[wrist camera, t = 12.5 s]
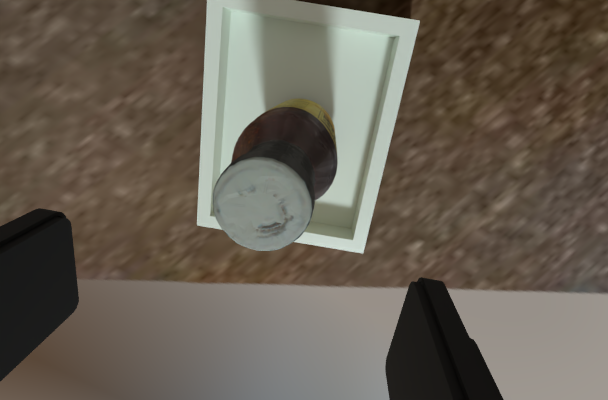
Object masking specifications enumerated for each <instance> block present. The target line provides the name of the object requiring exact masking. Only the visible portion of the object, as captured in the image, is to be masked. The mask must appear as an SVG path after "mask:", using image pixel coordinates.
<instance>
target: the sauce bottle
mask: <svg viewBox="0 0 608 400" xmlns="http://www.w3.org/2000/svg"><path fill="white" fill-rule="evenodd" d="M337 164H338V160H337V147H336V137H335V128H334V124H333V122H332V119H331V117H330V116H329V114H328V113H327V112H326V110H325V109H324V108H323V107H321V106H320V105H319V104H317V103H315V102H313V101H310V100H307V99H300V98H298V99H290V100H287V101H285V102H283V103H281V104H279V105H277V106H275V107H273V108H271V109H270V110H268V111H266V112H264V113H263V114H261V115H260V116H258V117H257V118H256V119H255V120H254V121H253V122H251V123H250V124H249V125H248V126H247V127H246V128H245V129H244V130H243V132H242V133H241V135H240V137H239V138H238V140H237V142H236V144H235V147H234V151H233V155H232V161H231V164H230V165H229V166H228V167H227V168H226V169H225V170H224V171H223V172H222V174H221V175H220V177H219V179H218V180H217V182H216V185H215V188H214V192H213V211H214V214H215V217H216V220H217V222H218V224H219V225H220V227H221V229H222V230H224V231H225V232H226V234H227V235H228V236H229V237H230V238H231V239H233V240H234V241H235V242H236V243H238V244H240V245H242V246H244V247H246V248H250V249H254V250H257V251H272V250H278V249H281V248H283V247H285V246H287V245H289V244H291V243H292V242H294V241H295V240H297V239H298V238H299V237H300V236H301V235H302V234H303V233H304V231H305V230H306V228H307V226H308V225H309V223H310V220H311V217H312V213H313V210H314V205H315V200H317V199H319V198H320V197H321V196H323V195H324V194H325V193H326V192H327V190H328V189H329V188H330V186H331V185H332V183H333V181H334V178H335V176H336V171H337Z"/></svg>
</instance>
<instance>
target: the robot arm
mask: <svg viewBox="0 0 608 400" xmlns="http://www.w3.org/2000/svg"><path fill="white" fill-rule="evenodd" d="M78 302H79V297H78V287H77V277H76V267H75V258H74V248H73V238H72V228H71V222H70V221H69V220H68V219H66V216H65V215H64V214H63V213H62V212H57V211H52V210H46V209H35V210H33V211H31V212H29V213H27V214H25V215H23V216H21V217H19V218H17V219H15V220H13V221H11V222H9V223H7V224H5V225H3V226H0V381H1V380H2V379H3V378H4V377H5V376H7V375H8V374H9V373H10V372H11V371H12V370H13V369H14V368H15V367H16V366H17V365H18V364H19V363H20V362H21V361H23V360H24V359H25V358H26V357H27V356H28V355H29V354H30V353H31V352H32V351H33V350H34V349H35V348H36V347H37V346H38V345H39V344H40V343H42V342H43V341H44V340H45V339H46V337H48V336H49V335H50V334H51V333H52V332H53V331H54V330H55V329H56V328H57V327H58V326H59V325H60V324H62V323H63V322H64V321H65V320H66V319H67V318H68V317H69V316H70V315H71V314H72V313H73V312H74V311H75V309H76V308H77V305H78ZM386 377H387V384H388V391H389V398H390V400H503V398H502V396H501V394H500V392H499V389H498V387H497V385H496V383H495V381H494V379H493V377H492V375H491V373H490V371H489V369H488V367H487V365H486V363H485V361H484V358H483V357H482V354H481V352H480V350H479V348H478V346H477V344H476V343H475V341H474V340H473V339H471V338H469V336H468V333H467V332H466V329H465V327H464V325H463V323H462V321H461V319H460V316H459V314H458V312H457V310H456V308H455V306H454V303H453V301H452V299H451V297H450V295H449V293H448V291H447V289H446V286H445V284H444V283H443V282H442V281H438V280H432V279H427V278H419V279H418V281H417V282H413V281H412V282H411V283H410V285H409V288H408V292H407V295H406V298H405V301H404V304H403V307H402V311H401V314H400V317H399V320H398V323H397V327H396V330H395V333H394V336H393V339H392V342H391V346H390V349H389V352H388V355H387V359H386Z"/></svg>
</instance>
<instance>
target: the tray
mask: <svg viewBox="0 0 608 400" xmlns="http://www.w3.org/2000/svg"><path fill="white" fill-rule="evenodd" d="M419 23H420V21H419V20H413V19H406V18H400V17H394V16H388V15H382V14H376V13H369V12H363V11H357V10H351V9H345V8H339V7H333V6H326V5H320V4H314V3H308V2H302V1H296V0H207V16H206V38H205V60H204V82H203V104H202V126H201V147H200V169H199V191H198V213H197V225H198V226H204V227H210V228H216V229H221V227H220V225H219V224H218V222H217V220H216V217H215V214H214V211H213V192H214V188H215V185H216V182H217V180H218V179H219V177H220V175H221V174H222V172H223V171H224V170H225V169H226V168H227V167H228V166H229V165H230V164H231V161H232V155H233V151H234V147H235V144H236V142H237V140H238V138H239V137H240V135H241V133H242V132H243V130H244V129H245V128H246V127H247V126H248V125H249V124H250V123H251V122H253V121H254V120H255V119H256V118H257V117H258V116H260V115H261V114H263V113H264V112H266V111H268V110H270V109H271V108H273V107H275V106H277V105H279V104H281V103H283V102H285V101H287V100H290V99H298V98H300V99H307V100H310V101H313V102H315V103H317V104H319V105H320V106H321V107H323V108H324V109H325V110H326V112H327V113H328V114H329V116H330V117H331V119H332V122H333V124H334V128H335V137H336V147H337V160H338V164H337V171H336V176H335V178H334V181H333V183H332V185H331V186H330V188H329V189H328V190H327V192H326V193H325V194H324V195H323V196H321V197H320V198H319V199H317V200H315V205H314V210H313V213H312V217H311V220H310V223H309V225H308V226H307V228H306V230H305V231H304V233H303V234H302V235H301V236H300V237H299V238H298V239H297V240H295V241H294V242H298V243H304V244H310V245H316V246H322V247H328V248H334V249H339V250H345V251H351V252H357V253H363V252H364V248H365V244H366V239H367V235H368V231H369V227H370V223H371V219H372V215H373V211H374V207H375V203H376V199H377V194H378V190H379V186H380V182H381V178H382V174H383V170H384V166H385V162H386V158H387V154H388V149H389V145H390V141H391V137H392V133H393V129H394V125H395V121H396V117H397V113H398V109H399V105H400V100H401V96H402V92H403V88H404V84H405V80H406V76H407V72H408V68H409V64H410V60H411V55H412V51H413V47H414V43H415V39H416V35H417V31H418V27H419Z"/></svg>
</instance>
